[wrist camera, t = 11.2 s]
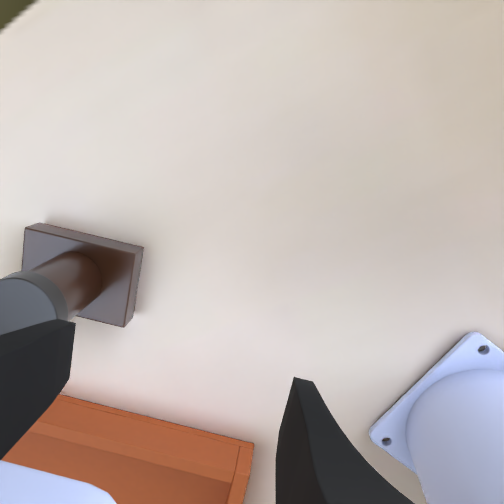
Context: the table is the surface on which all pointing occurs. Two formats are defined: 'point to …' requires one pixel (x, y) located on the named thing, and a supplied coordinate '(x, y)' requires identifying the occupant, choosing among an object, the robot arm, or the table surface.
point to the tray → (135, 455)
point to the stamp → (70, 279)
